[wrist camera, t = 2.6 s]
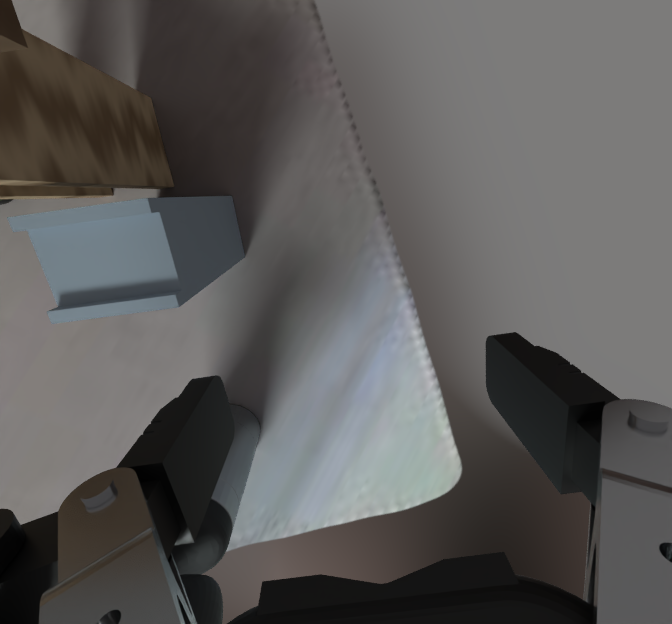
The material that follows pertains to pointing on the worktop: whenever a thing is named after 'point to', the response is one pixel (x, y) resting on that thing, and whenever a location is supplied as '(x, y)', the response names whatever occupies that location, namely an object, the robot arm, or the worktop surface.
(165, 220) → the tall grey pillar
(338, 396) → the worktop surface
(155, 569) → the robot arm
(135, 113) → the slotted wooden post
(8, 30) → the rail
